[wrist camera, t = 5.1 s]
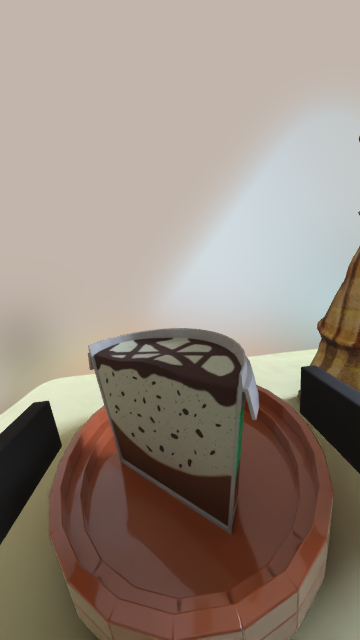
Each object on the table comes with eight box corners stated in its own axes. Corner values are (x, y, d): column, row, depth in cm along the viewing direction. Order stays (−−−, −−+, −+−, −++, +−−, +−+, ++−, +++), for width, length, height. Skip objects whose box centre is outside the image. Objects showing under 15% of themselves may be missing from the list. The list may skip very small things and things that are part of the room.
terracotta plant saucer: (252, 384, 25) (251, 364, 25) (450, 641, 7) (466, 592, 7) (109, 403, 25) (105, 383, 24) (-43, 729, 7) (-75, 685, 6)
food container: (278, 457, 15) (278, 331, 13) (260, 554, 10) (254, 376, 8) (155, 410, 22) (141, 323, 20) (109, 453, 17) (83, 344, 15)
